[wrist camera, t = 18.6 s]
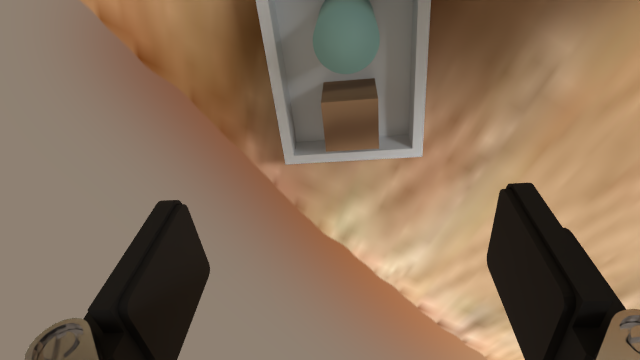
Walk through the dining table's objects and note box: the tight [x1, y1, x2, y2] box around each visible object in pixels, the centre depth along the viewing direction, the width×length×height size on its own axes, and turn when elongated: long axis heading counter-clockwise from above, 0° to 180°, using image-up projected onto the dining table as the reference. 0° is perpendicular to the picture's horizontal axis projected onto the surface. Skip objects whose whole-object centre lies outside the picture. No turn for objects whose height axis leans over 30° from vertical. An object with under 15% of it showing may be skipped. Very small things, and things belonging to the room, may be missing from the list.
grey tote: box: [256, 0, 431, 164], centre depth 36 cm, size 18×14×4 cm
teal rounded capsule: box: [313, 0, 380, 74], centre depth 31 cm, size 5×5×7 cm
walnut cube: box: [321, 78, 379, 152], centre depth 37 cm, size 5×5×5 cm
